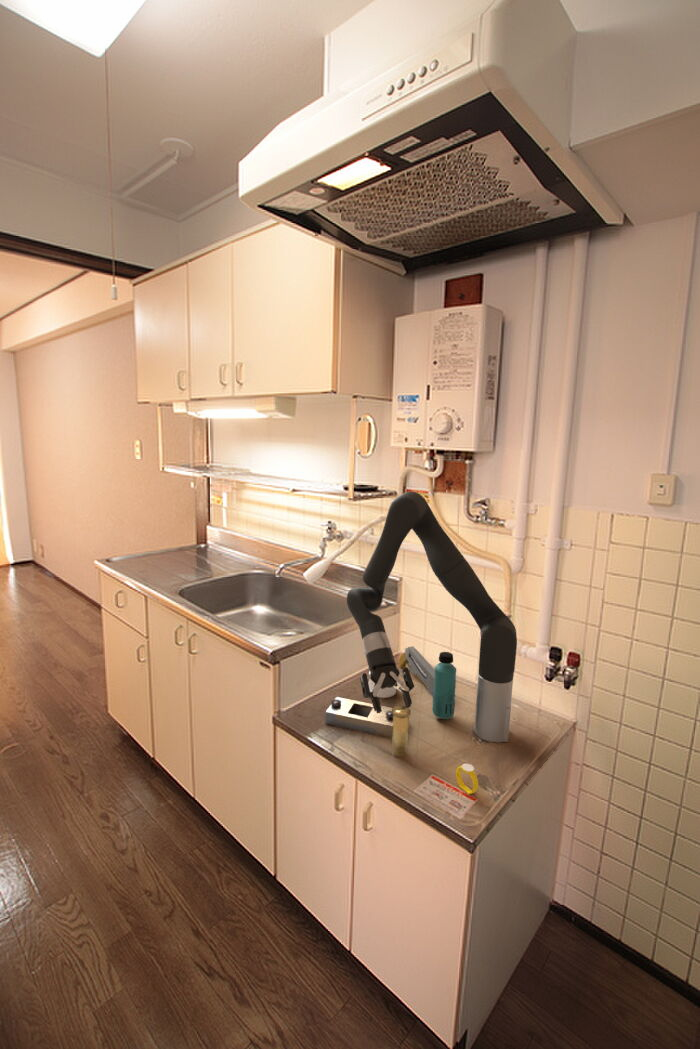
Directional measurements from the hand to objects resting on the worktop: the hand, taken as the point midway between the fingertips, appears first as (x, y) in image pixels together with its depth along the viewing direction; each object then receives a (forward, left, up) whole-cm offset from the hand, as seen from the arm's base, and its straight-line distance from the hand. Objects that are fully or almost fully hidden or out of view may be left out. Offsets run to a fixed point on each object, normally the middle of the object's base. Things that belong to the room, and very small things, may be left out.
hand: (394, 709), depth 132 cm
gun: (0, -38, -10) cm, 39 cm away
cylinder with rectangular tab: (+10, -27, -10) cm, 31 cm away
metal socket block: (+10, -7, -10) cm, 16 cm away
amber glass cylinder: (-3, +3, -10) cm, 11 cm away
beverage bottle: (-11, -18, -10) cm, 23 cm away
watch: (-21, +11, -10) cm, 25 cm away
